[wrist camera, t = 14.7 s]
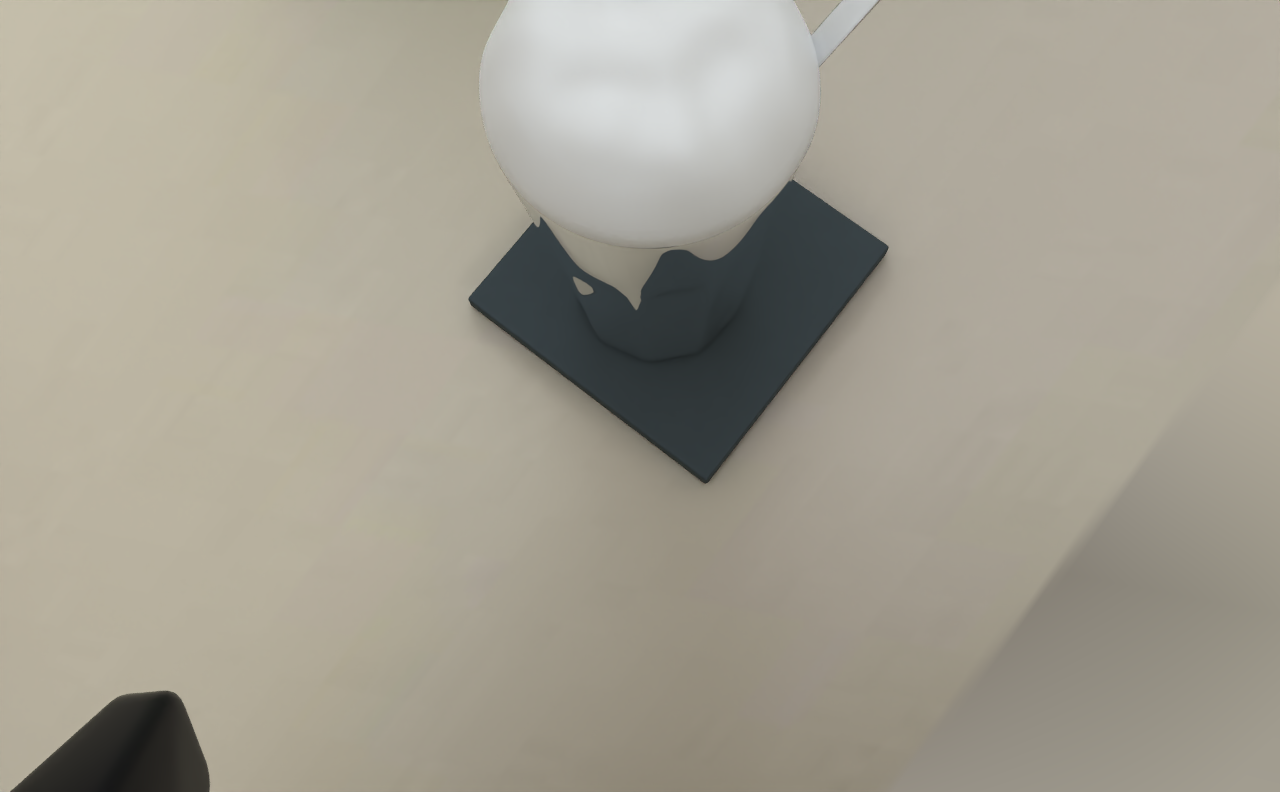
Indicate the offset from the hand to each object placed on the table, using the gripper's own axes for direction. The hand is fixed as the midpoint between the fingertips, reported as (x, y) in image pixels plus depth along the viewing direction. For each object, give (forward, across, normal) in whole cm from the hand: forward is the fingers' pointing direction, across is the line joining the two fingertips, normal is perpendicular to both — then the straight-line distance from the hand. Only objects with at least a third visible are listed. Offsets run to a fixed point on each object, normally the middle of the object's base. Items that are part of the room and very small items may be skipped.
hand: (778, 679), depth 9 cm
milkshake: (+15, 0, +4) cm, 15 cm away
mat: (+15, 0, +4) cm, 16 cm away
